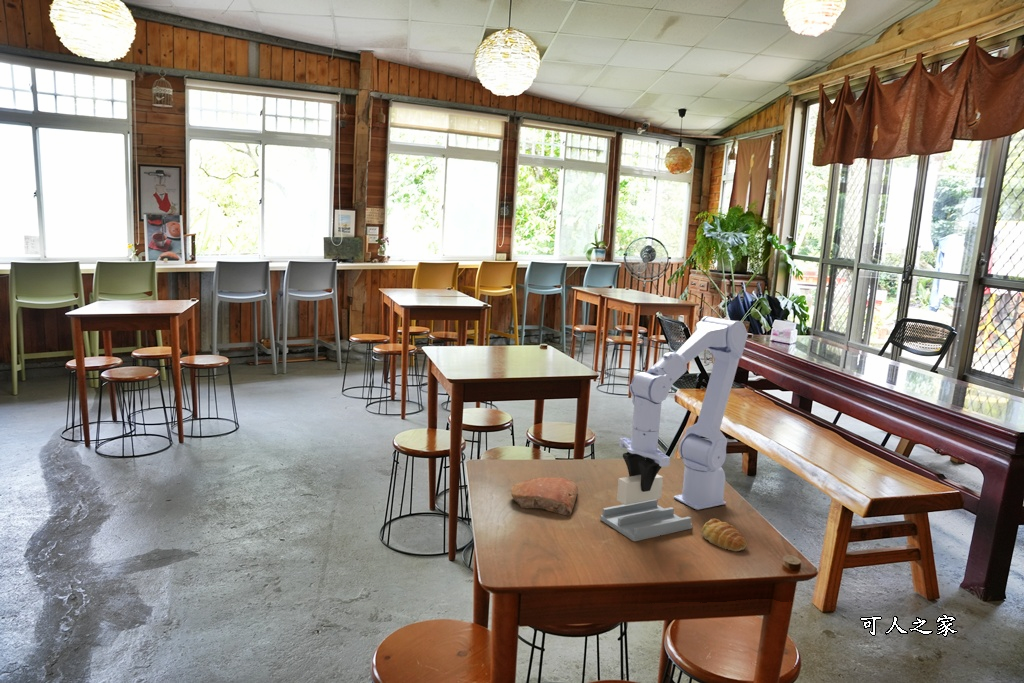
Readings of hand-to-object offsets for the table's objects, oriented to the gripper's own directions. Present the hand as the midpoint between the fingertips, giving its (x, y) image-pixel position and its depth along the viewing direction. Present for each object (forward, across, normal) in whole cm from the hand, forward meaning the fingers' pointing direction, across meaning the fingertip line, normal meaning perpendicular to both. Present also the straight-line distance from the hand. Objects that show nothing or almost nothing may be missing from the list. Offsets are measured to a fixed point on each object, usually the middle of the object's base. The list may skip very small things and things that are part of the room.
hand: (640, 487), depth 151 cm
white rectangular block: (+3, 0, 0) cm, 3 cm away
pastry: (+8, +16, +10) cm, 20 cm away
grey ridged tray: (+7, +3, 0) cm, 8 cm away
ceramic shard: (+8, -18, -14) cm, 24 cm away
